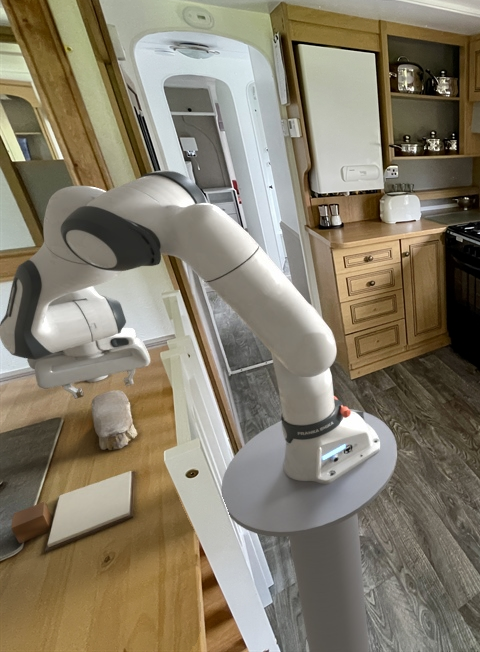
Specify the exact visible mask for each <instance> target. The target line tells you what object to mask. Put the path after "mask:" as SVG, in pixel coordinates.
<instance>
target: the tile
mask: <svg viewBox="0 0 480 652" xmlns="http://www.w3.org/2000/svg"><path fill="white" fill-rule="evenodd" d="M135 474H136V473H135V471H131V470H129V471H126V472H123V473H120V474H117V475H115V476H112V477H108V478H106V479H103V480H100V481H97V482H94V483H91V484H88V485H86V486H82V487H80V488H76V489H74V490H71V491H69V492H65V493H63V494H60V495H59V496H58V498H57V501H56V506H55V509H54V514H53V516H52V517H53V518H52V520H51V529H50V531H49V533H48V536H47V541H46V545H45V549H44V552H45V553H48V552H51V551H53V550H55V549H58V548H60V547H63V546H65V545H68V544H70V543H73V542H75V541H78V540H80V539H84V538H85V537H88V536H90V535H93V534H95V533H98V532H100V531H102V530H105V529H108V528H110V527H112V526H115V525H117V524H120V523H122V522H125V521H127V520H130V519H132V518H134V504H135V503H134V501H135V500H134V499H135Z"/></svg>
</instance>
